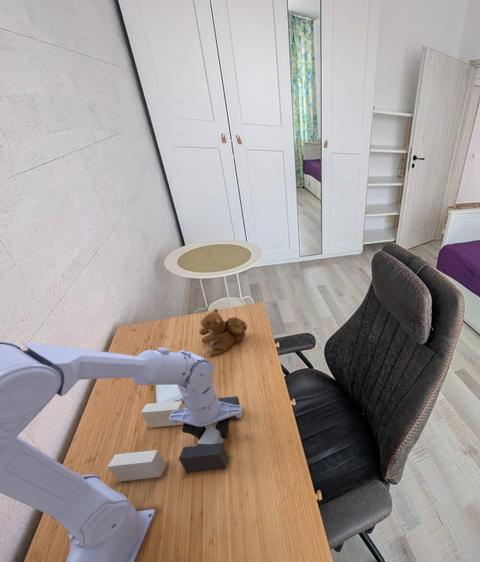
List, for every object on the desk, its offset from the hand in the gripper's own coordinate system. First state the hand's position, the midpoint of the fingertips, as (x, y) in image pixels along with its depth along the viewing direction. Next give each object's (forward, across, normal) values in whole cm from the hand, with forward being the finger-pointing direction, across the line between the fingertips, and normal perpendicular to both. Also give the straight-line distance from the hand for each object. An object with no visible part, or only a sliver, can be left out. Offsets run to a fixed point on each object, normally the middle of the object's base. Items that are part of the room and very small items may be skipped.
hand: (215, 435), depth 68 cm
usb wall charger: (+2, 0, 0) cm, 2 cm away
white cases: (+1, +13, 0) cm, 13 cm away
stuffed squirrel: (+2, +7, -34) cm, 35 cm away
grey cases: (+1, 0, 0) cm, 1 cm away
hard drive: (+2, +16, -16) cm, 23 cm away
